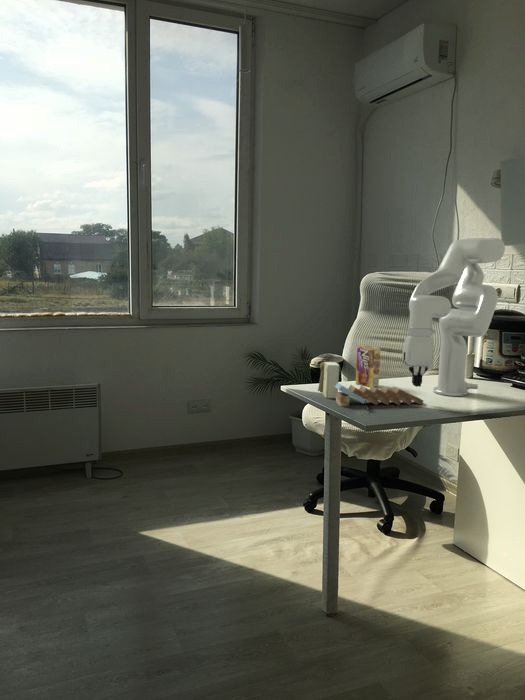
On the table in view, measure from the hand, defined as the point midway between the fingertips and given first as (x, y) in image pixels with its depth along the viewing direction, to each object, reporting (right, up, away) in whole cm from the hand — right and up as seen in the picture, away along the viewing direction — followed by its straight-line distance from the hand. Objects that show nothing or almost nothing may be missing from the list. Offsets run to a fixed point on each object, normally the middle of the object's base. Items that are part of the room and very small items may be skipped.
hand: (416, 385), depth 204 cm
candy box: (-12, -2, +30) cm, 32 cm away
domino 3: (-11, -5, -1) cm, 12 cm away
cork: (-29, -3, +18) cm, 34 cm away
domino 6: (+1, -5, +1) cm, 6 cm away
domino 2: (-14, -5, -1) cm, 15 cm away
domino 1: (-19, -5, -2) cm, 20 cm away
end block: (-26, -6, -2) cm, 27 cm away
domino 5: (-3, -5, +1) cm, 6 cm away
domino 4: (-7, -5, 0) cm, 9 cm away
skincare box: (-29, -5, +9) cm, 30 cm away
